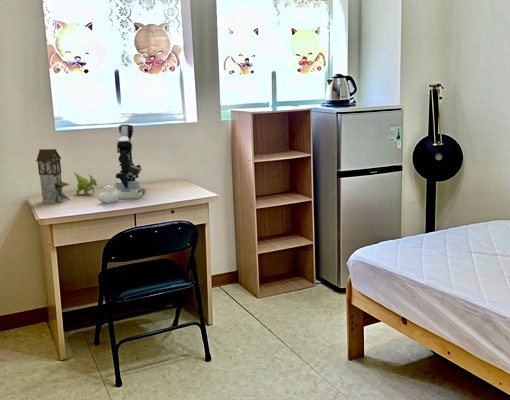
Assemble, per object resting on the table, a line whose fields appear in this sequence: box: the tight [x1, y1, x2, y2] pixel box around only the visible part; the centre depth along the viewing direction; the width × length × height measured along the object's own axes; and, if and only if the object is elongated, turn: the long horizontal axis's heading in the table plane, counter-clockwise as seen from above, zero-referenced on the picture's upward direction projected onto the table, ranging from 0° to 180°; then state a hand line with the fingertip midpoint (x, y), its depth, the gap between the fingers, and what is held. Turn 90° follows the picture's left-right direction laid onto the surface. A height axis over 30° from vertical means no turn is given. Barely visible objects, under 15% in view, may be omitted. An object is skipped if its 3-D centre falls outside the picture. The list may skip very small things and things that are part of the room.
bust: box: [97, 184, 119, 204], centre depth 309 cm, size 12×8×11 cm
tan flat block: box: [138, 187, 146, 194], centre depth 331 cm, size 8×14×3 cm, turn 81°
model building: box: [35, 148, 71, 204], centre depth 316 cm, size 10×15×30 cm
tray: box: [118, 191, 143, 200], centre depth 323 cm, size 9×17×4 cm, turn 81°
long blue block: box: [115, 180, 141, 192], centre depth 326 cm, size 4×13×6 cm, turn 80°
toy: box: [73, 172, 98, 196], centre depth 336 cm, size 8×21×15 cm
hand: (127, 187), depth 326 cm, fingers open, 4 cm apart
